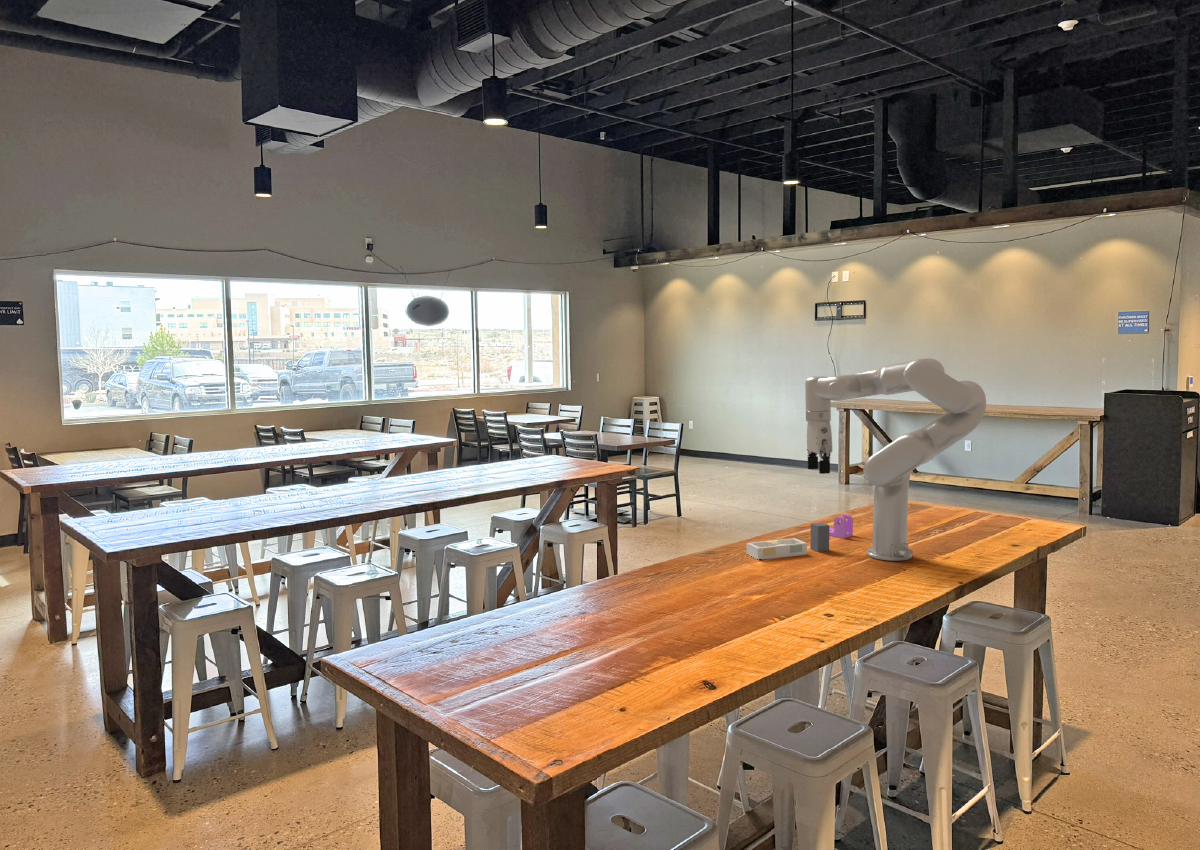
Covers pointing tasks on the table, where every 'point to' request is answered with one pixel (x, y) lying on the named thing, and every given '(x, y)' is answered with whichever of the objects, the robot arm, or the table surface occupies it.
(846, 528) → the bracket
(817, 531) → the plug
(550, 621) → the table surface
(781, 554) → the socket block
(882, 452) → the robot arm
